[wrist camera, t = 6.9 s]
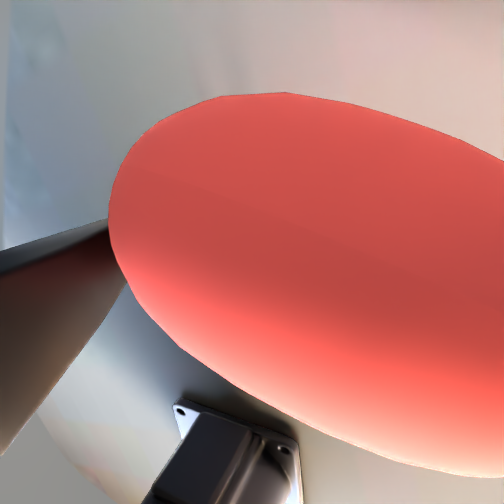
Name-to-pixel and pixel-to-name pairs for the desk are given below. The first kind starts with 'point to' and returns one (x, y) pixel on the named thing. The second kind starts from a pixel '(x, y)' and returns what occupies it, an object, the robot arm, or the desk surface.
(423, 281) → the stress ball
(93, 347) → the desk surface
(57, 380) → the robot arm
